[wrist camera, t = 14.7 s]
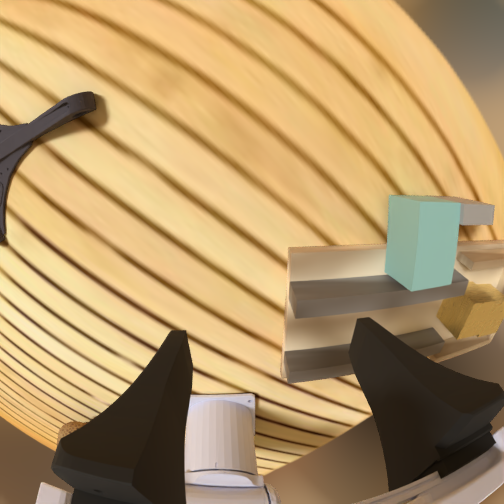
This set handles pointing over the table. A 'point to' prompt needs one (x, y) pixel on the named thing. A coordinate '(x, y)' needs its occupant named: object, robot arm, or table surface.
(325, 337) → the slot board
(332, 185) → the table surface
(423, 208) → the two-tone l-shaped block
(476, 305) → the golden brown cube
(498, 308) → the yellow cube
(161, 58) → the table surface
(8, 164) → the bracket
